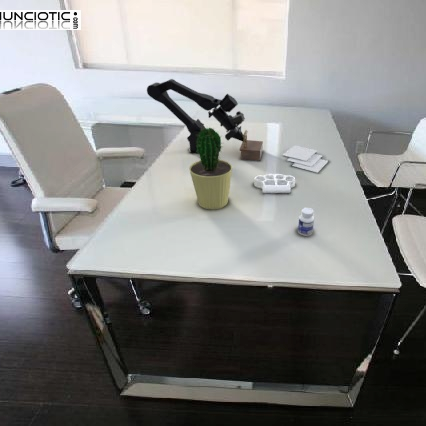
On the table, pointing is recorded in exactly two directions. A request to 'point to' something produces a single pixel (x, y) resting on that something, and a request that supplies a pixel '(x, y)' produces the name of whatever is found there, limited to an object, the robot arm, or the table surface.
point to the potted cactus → (210, 172)
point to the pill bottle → (306, 222)
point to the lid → (250, 144)
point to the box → (251, 155)
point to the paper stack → (305, 158)
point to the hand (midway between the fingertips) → (245, 141)
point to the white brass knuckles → (274, 183)
